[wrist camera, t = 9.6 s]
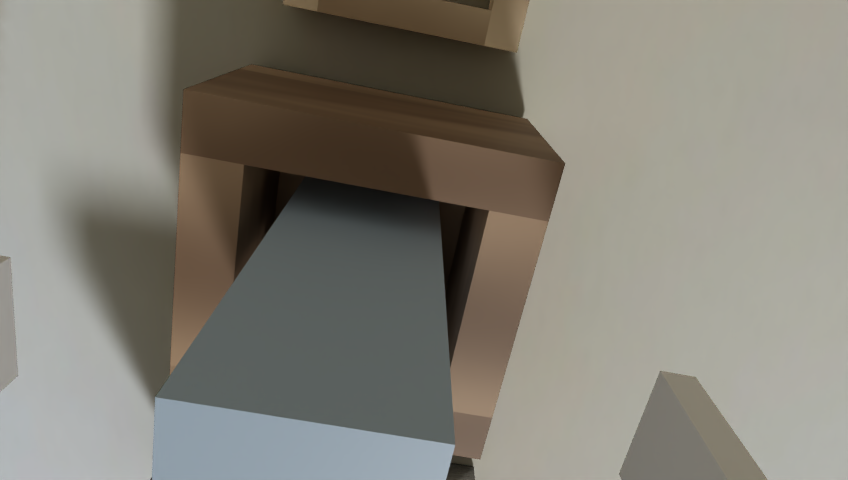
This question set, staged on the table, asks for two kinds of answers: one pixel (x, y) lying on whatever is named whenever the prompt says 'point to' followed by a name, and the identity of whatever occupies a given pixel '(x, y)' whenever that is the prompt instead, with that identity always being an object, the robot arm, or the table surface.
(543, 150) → the brown wooden box
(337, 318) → the light blue square peg
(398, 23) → the stand
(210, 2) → the table surface
